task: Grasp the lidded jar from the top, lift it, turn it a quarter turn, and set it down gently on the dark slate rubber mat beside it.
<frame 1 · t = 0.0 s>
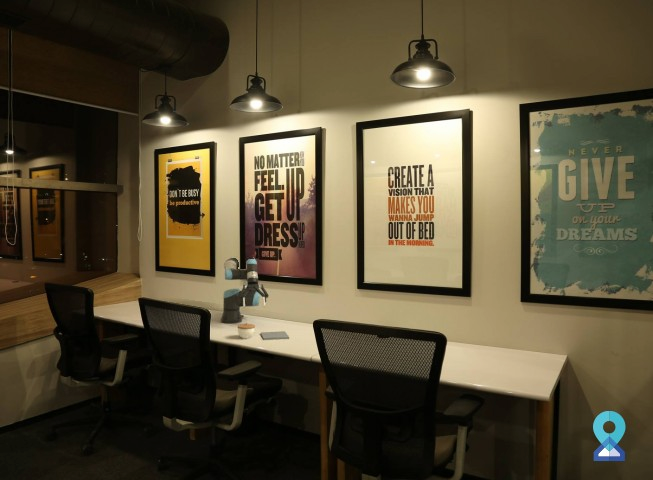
hand: (254, 306, 323), 15 cm above the table, tool tilted 35°, fingers open, 13 cm apart
slate mat: (274, 336, 305), on the table
lidded jar: (246, 338, 300), on the table
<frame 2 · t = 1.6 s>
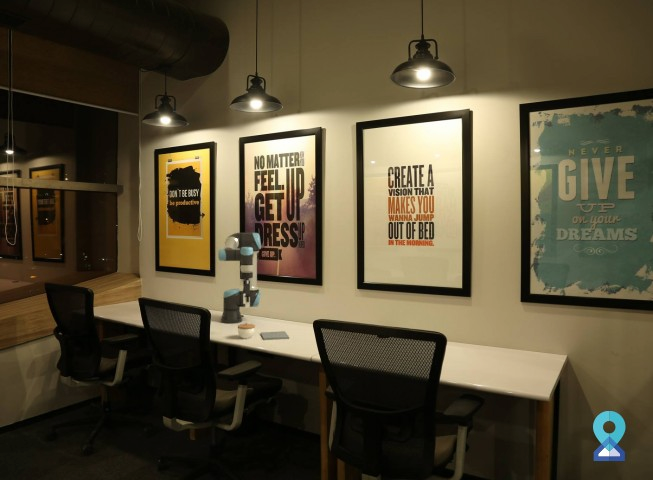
hand: (246, 305, 299), 20 cm above the table, tool pointing down, fingers open, 13 cm apart
nothing on the table moved.
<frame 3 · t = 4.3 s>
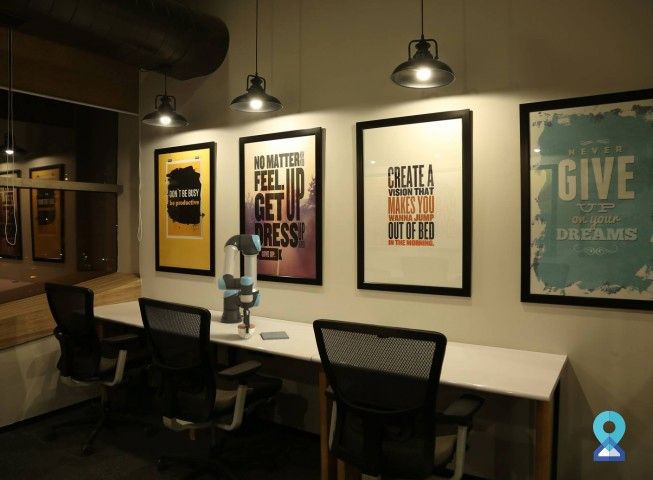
hand: (246, 336, 300), 1 cm above the table, tool pointing down, fingers closed on lidded jar, 11 cm apart
lidded jar: (246, 338, 300), on the table, touching gripper
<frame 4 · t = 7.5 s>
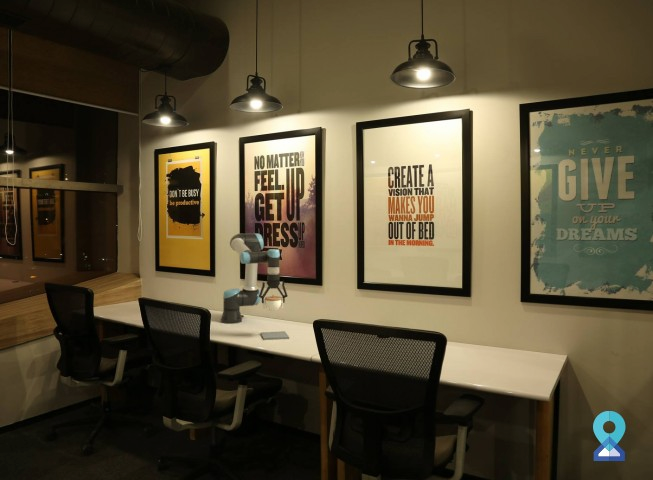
hand: (273, 308, 303), 18 cm above the table, tool pointing down, fingers closed on lidded jar, 11 cm apart
lidded jar: (273, 310, 303), point 17 cm above the table, touching gripper
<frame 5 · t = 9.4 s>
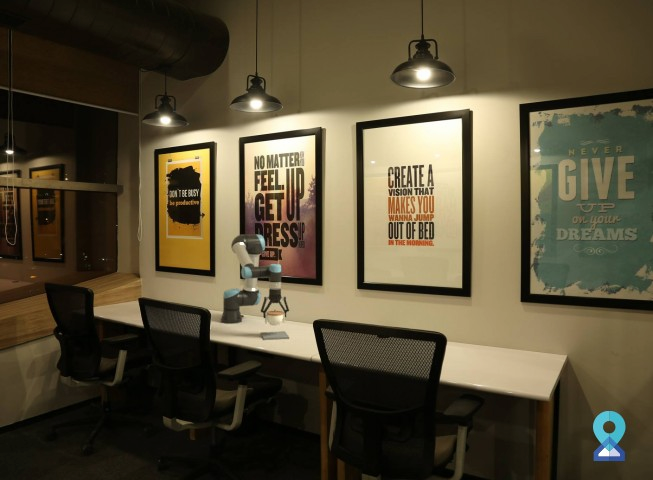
hand: (274, 322, 304), 9 cm above the table, tool pointing down, fingers closed on lidded jar, 11 cm apart
lidded jar: (274, 324, 304), point 7 cm above the table, touching gripper
when the fingers open (2 cm above the table, at t = 11.2 s): lidded jar stays where it is, resting on slate mat.
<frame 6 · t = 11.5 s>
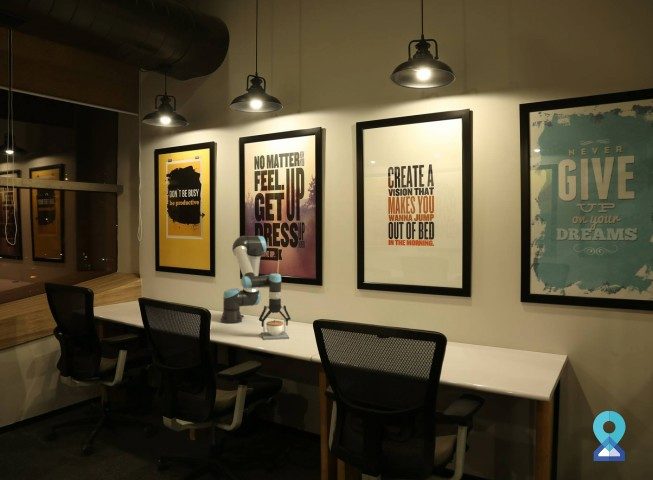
hand: (274, 331, 304), 3 cm above the table, tool pointing down, fingers open, 13 cm apart
lidded jar: (274, 334, 305), point 1 cm above the table, touching slate mat
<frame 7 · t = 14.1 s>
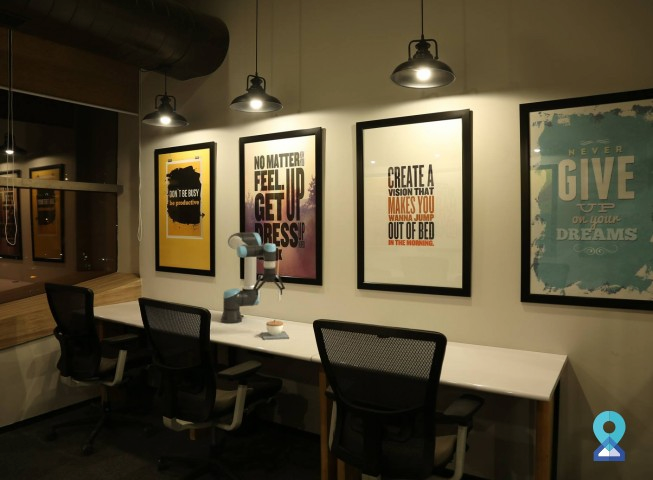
hand: (269, 300, 308), 22 cm above the table, tool pointing down, fingers open, 13 cm apart
nothing on the table moved.
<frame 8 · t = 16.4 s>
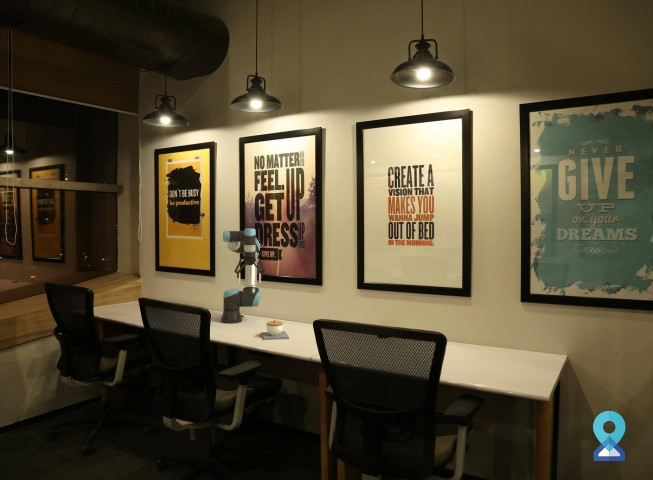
hand: (249, 283, 320), 32 cm above the table, tool pointing down, fingers open, 13 cm apart
nothing on the table moved.
at the end: lidded jar 0.0 cm off-centre on the slate mat, point 0.8 cm above the slate mat's base; lidded jar tilted 0°; the gripper is holding nothing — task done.
